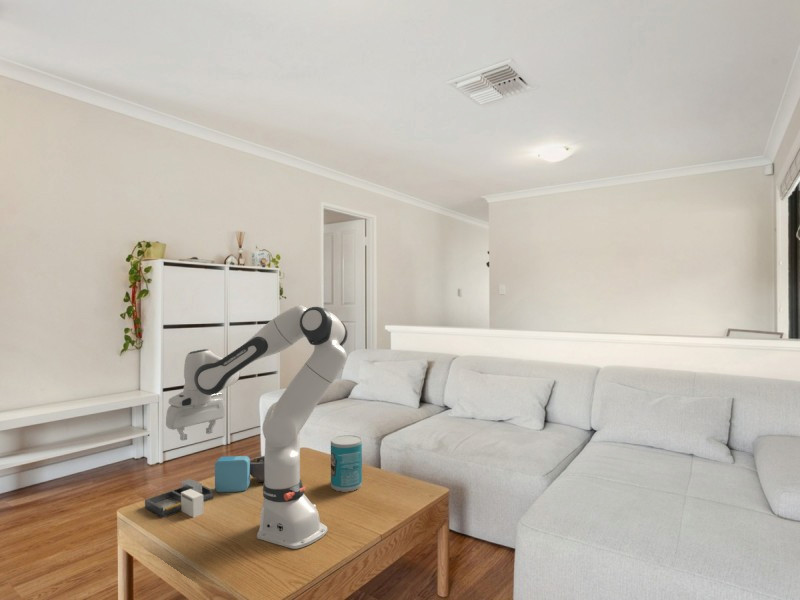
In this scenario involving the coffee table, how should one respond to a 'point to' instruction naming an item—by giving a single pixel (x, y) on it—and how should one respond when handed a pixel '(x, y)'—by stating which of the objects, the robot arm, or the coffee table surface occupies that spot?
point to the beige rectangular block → (192, 503)
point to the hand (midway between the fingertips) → (196, 436)
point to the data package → (232, 474)
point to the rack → (175, 498)
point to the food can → (346, 463)
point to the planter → (257, 468)
